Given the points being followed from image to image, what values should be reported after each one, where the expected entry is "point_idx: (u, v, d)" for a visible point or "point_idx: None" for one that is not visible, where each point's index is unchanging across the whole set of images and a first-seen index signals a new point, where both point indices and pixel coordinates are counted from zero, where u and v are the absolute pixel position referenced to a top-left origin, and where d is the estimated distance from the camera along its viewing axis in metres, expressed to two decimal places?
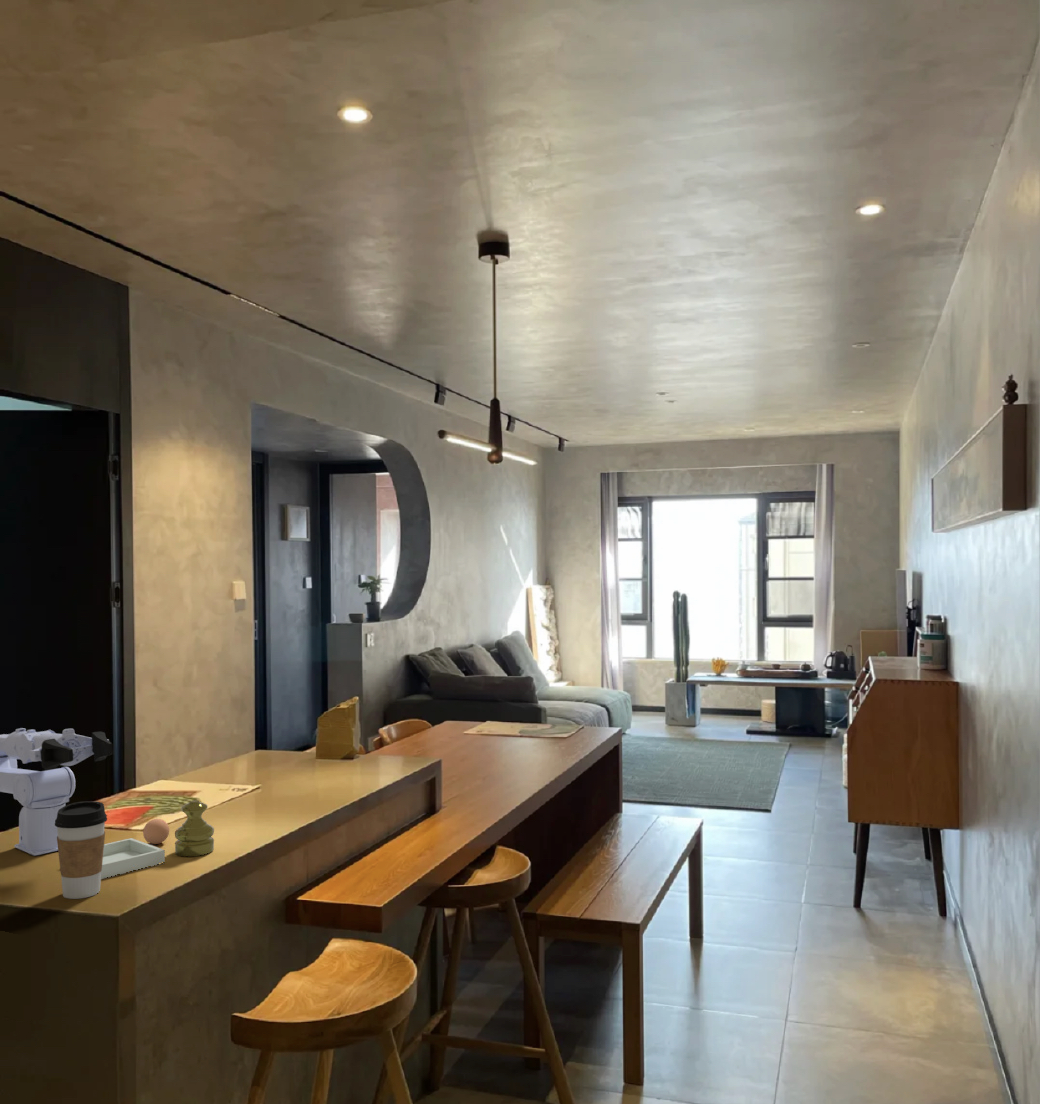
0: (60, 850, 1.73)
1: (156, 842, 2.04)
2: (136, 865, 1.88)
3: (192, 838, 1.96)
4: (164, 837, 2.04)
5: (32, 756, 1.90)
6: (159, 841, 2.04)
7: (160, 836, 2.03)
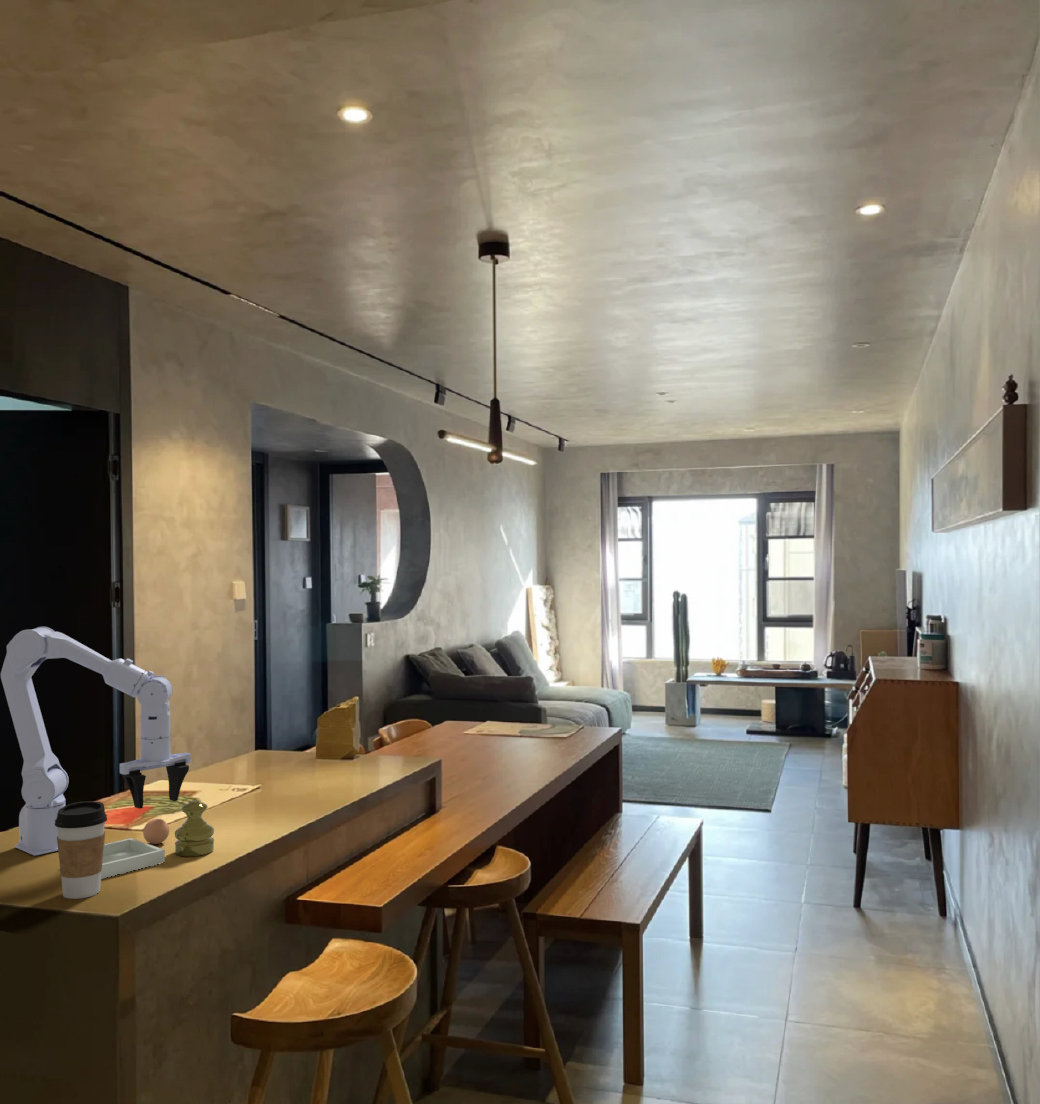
0: (60, 850, 1.73)
1: (156, 842, 2.04)
2: (136, 865, 1.88)
3: (192, 838, 1.96)
4: (164, 837, 2.04)
5: (121, 768, 2.00)
6: (159, 841, 2.04)
7: (160, 836, 2.03)
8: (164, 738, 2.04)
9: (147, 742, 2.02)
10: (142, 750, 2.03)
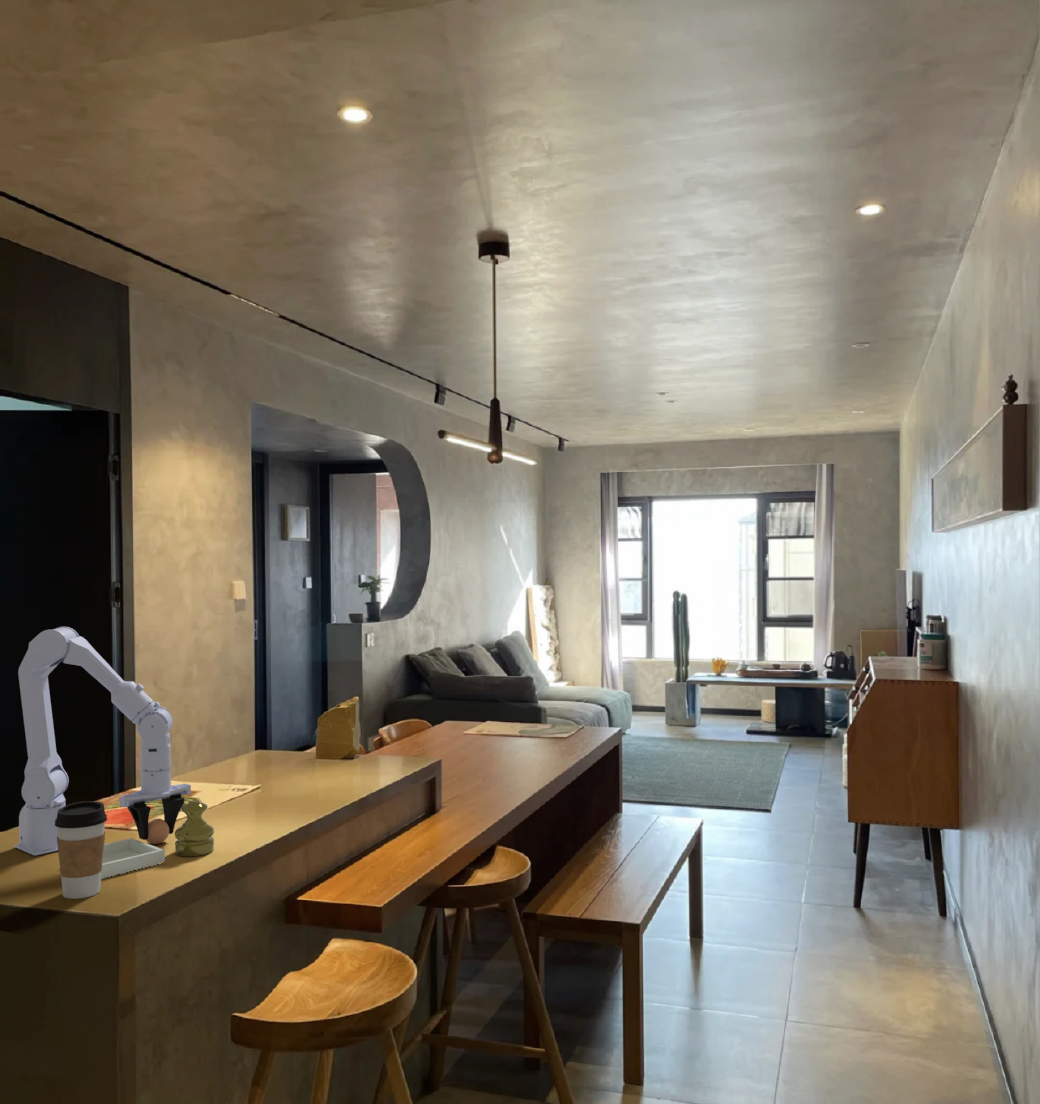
0: (60, 850, 1.73)
1: (156, 842, 2.04)
2: (136, 865, 1.88)
3: (192, 838, 1.96)
4: (164, 837, 2.04)
5: (121, 801, 2.00)
6: (159, 841, 2.04)
7: (160, 836, 2.03)
8: (164, 770, 2.04)
9: (147, 774, 2.02)
10: (142, 782, 2.03)
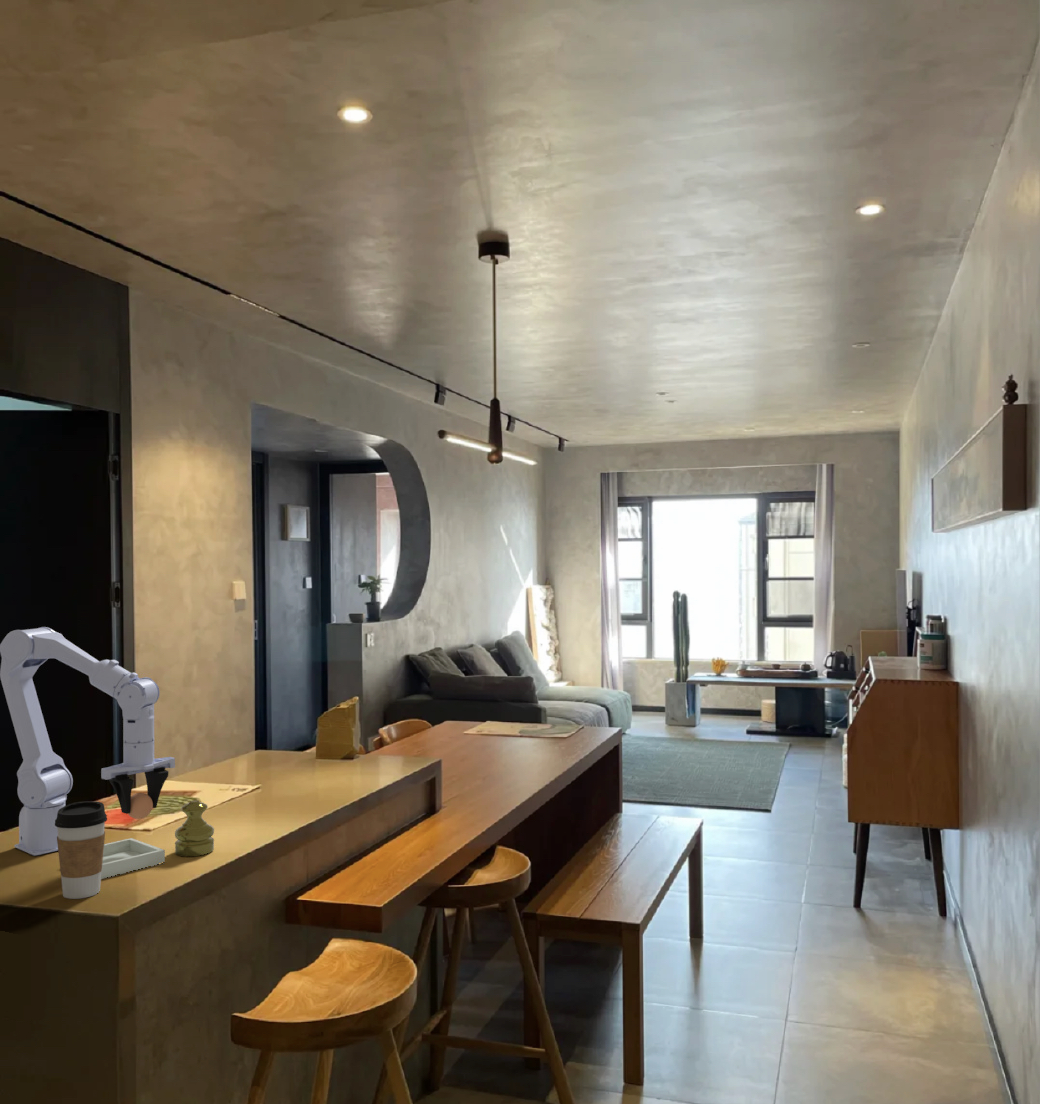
0: (60, 850, 1.73)
1: (139, 817, 1.98)
2: (136, 865, 1.88)
3: (192, 838, 1.96)
4: (147, 811, 1.98)
5: (103, 773, 1.94)
6: (142, 816, 1.98)
7: (143, 811, 1.97)
8: (147, 742, 1.98)
9: (130, 746, 1.96)
10: (125, 754, 1.97)
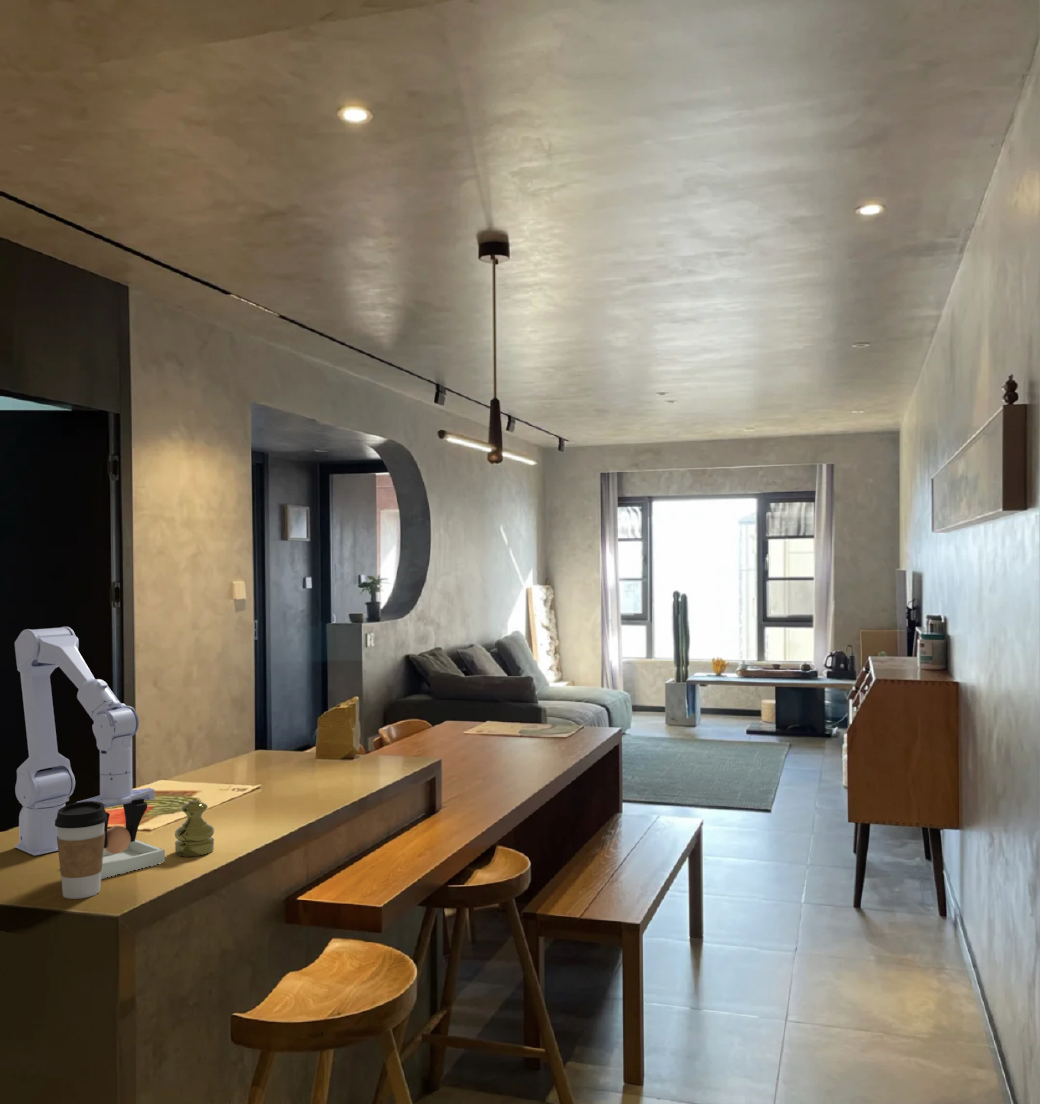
0: (60, 850, 1.73)
1: (116, 851, 1.90)
2: (136, 865, 1.88)
3: (192, 838, 1.96)
4: (124, 846, 1.90)
5: None
6: (119, 850, 1.90)
7: (120, 845, 1.90)
8: (125, 774, 1.90)
9: (106, 778, 1.89)
10: (101, 786, 1.90)
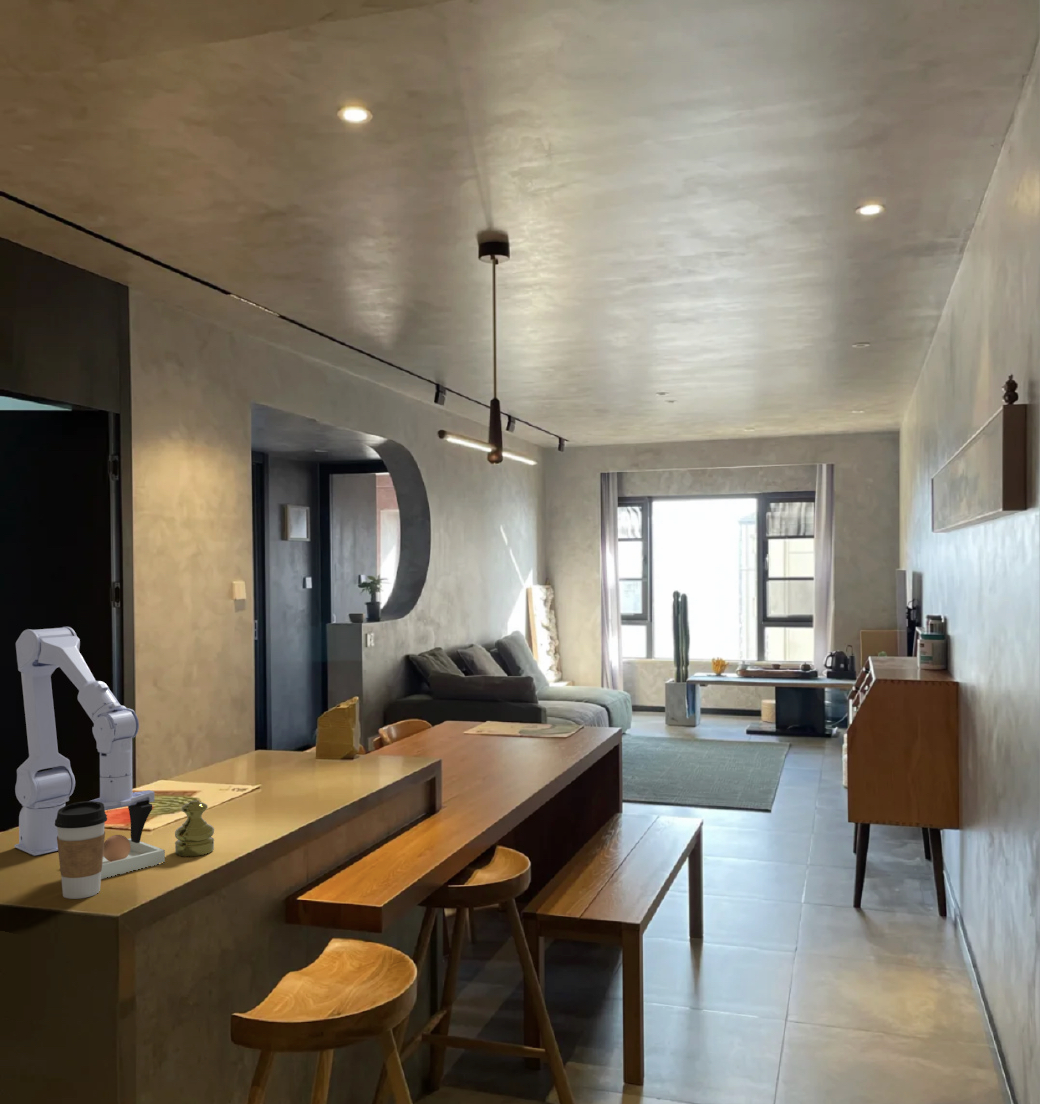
0: (60, 850, 1.73)
1: None
2: (136, 865, 1.88)
3: (192, 838, 1.96)
4: (124, 855, 1.90)
5: None
6: (119, 859, 1.90)
7: (120, 854, 1.90)
8: (125, 776, 1.90)
9: (106, 781, 1.89)
10: (101, 789, 1.90)
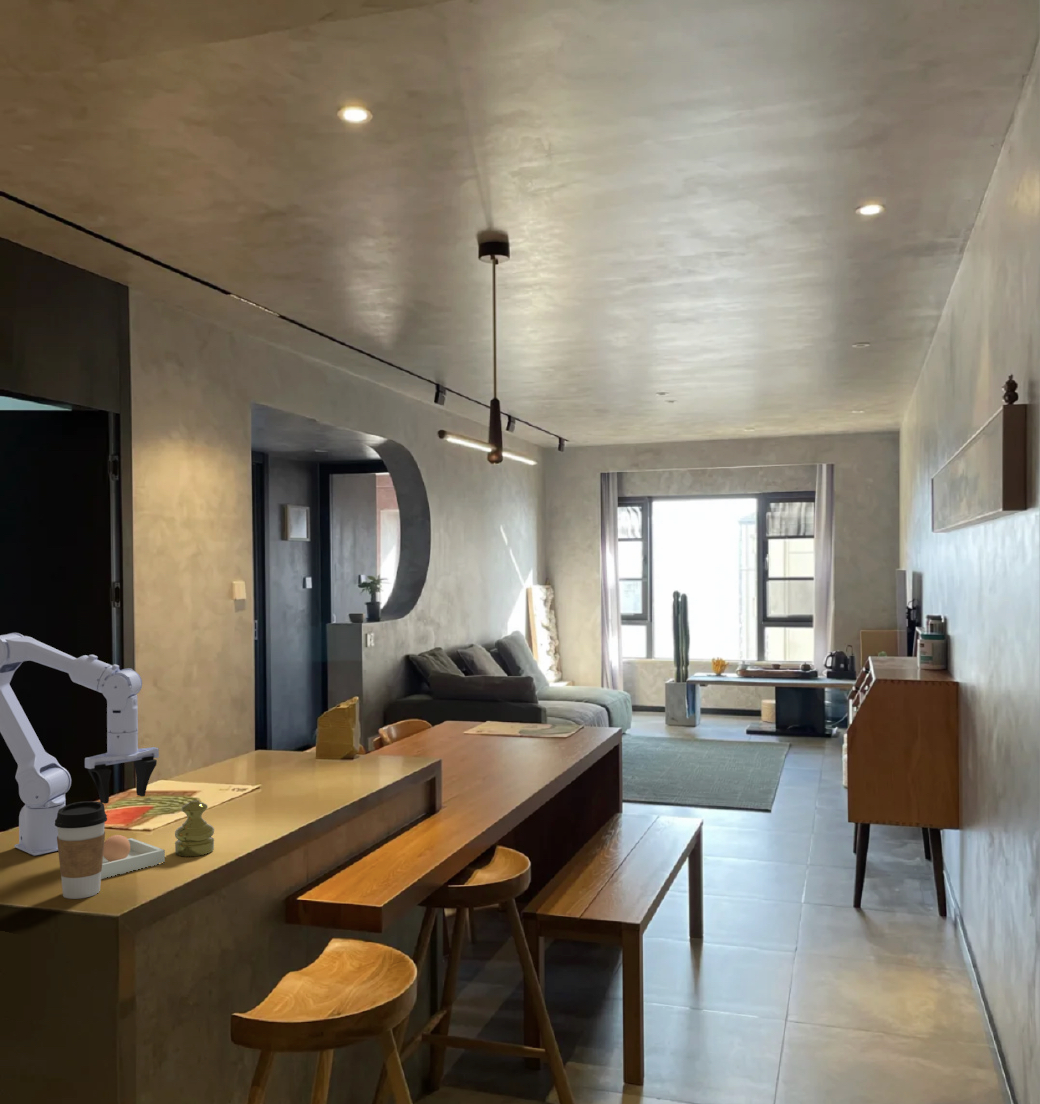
0: (60, 850, 1.73)
1: None
2: (136, 865, 1.88)
3: (192, 838, 1.96)
4: (124, 855, 1.90)
5: (86, 762, 1.97)
6: (119, 859, 1.90)
7: (120, 854, 1.90)
8: (131, 732, 2.00)
9: (113, 736, 1.99)
10: (108, 744, 2.00)
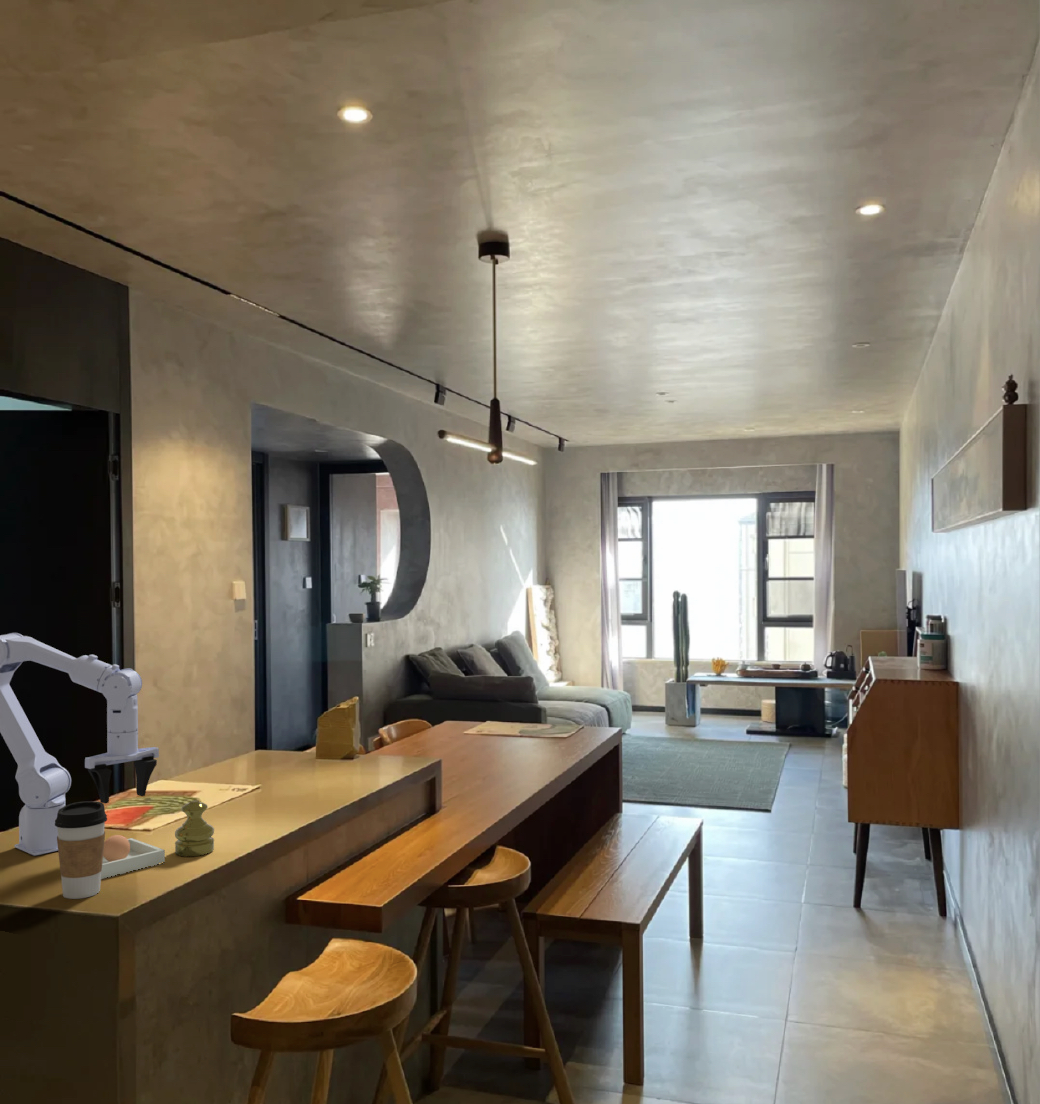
0: (60, 850, 1.73)
1: None
2: (136, 865, 1.88)
3: (192, 838, 1.96)
4: (124, 855, 1.90)
5: (87, 762, 1.97)
6: (119, 859, 1.90)
7: (120, 855, 1.90)
8: (131, 732, 2.00)
9: (113, 736, 1.99)
10: (108, 744, 2.00)
